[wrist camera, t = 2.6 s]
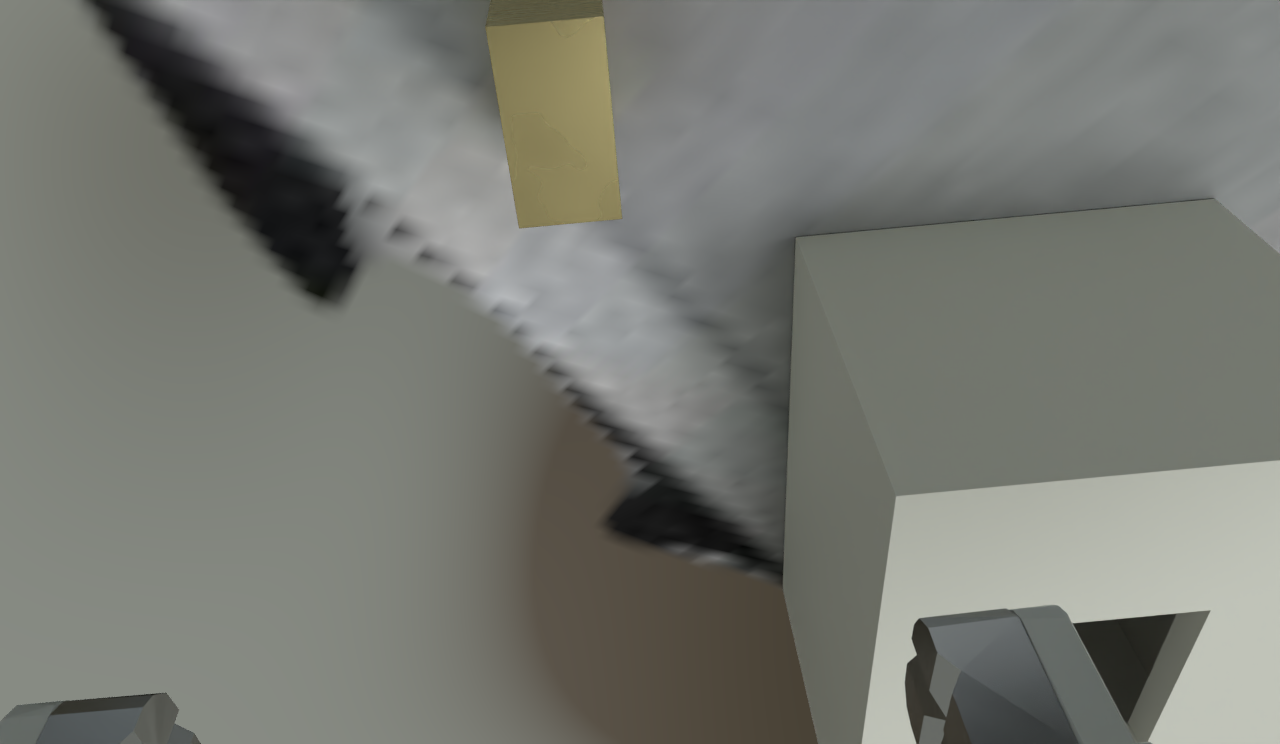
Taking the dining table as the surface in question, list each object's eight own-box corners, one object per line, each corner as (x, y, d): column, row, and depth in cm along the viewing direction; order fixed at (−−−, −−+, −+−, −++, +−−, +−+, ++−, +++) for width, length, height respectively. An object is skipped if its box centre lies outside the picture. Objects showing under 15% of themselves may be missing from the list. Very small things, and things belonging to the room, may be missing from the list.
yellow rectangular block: (499, -45, 25) (485, 27, 21) (596, -54, 25) (603, 16, 21) (526, 130, 28) (519, 228, 24) (612, 123, 28) (621, 218, 24)
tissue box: (795, 237, 31) (896, 496, 22) (1215, 198, 31) (1497, 439, 22) (782, 588, 42) (845, 861, 33) (1092, 559, 42) (1244, 822, 33)
